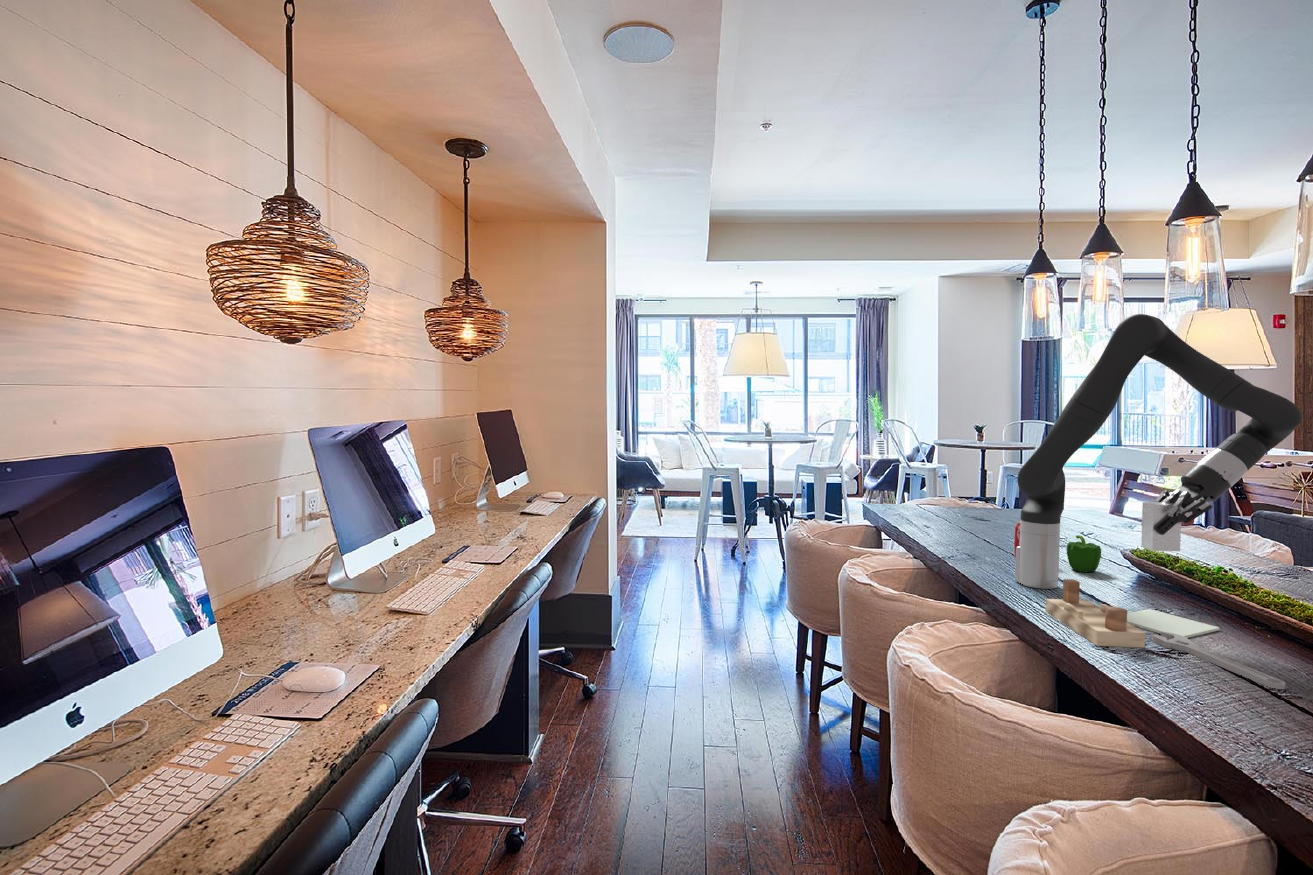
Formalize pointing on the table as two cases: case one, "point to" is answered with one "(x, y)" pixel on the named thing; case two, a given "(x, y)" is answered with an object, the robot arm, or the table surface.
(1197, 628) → the mat
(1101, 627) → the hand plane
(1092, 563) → the bell pepper
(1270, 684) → the adjustable wrench
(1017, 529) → the soda can
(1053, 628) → the table surface
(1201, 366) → the robot arm
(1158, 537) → the grey block
